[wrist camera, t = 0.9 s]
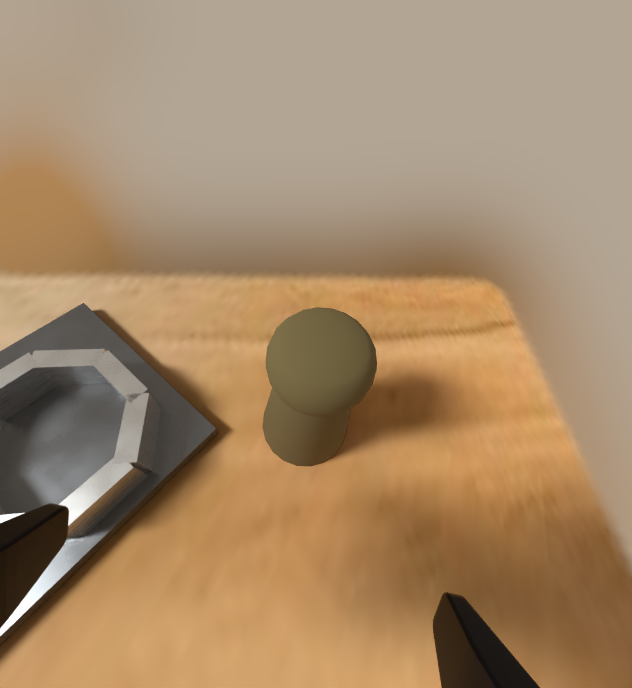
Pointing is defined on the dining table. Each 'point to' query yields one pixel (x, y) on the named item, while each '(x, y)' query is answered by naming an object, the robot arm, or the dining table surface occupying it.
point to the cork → (315, 383)
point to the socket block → (86, 438)
